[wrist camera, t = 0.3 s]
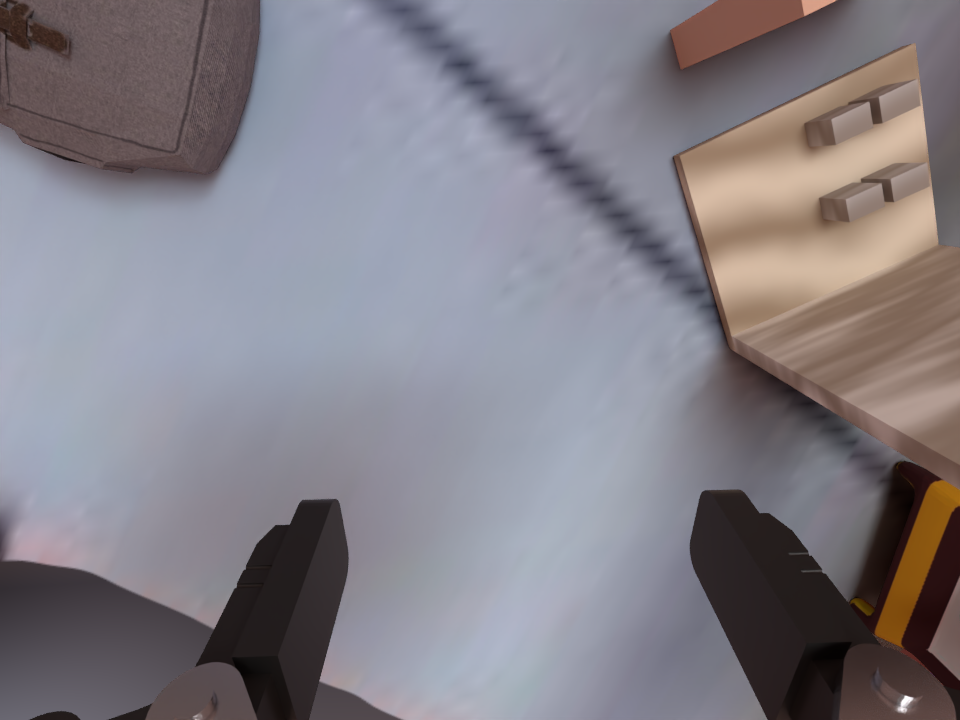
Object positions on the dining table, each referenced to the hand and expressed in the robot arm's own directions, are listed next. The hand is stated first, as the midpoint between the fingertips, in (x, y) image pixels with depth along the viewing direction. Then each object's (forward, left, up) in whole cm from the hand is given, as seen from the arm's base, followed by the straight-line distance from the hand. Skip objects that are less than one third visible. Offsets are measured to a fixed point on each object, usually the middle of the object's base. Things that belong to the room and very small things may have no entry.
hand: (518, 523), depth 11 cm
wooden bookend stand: (-3, +25, -27) cm, 37 cm away
